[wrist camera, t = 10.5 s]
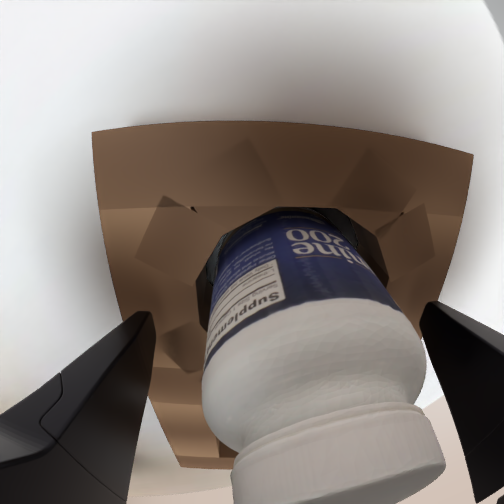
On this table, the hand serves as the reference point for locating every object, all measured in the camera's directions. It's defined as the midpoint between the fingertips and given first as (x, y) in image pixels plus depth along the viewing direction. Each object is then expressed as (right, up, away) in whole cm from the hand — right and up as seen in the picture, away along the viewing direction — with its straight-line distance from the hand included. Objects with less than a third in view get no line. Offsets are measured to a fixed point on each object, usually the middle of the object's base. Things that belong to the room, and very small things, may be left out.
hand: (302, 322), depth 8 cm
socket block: (0, -2, +6) cm, 6 cm away
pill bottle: (0, +2, +4) cm, 4 cm away
